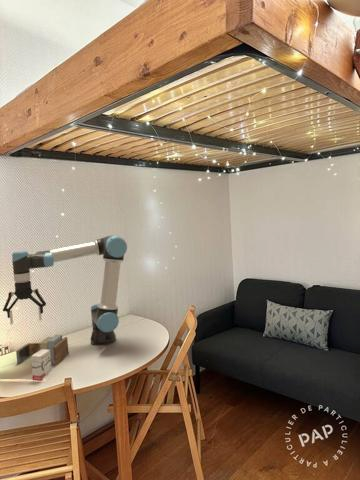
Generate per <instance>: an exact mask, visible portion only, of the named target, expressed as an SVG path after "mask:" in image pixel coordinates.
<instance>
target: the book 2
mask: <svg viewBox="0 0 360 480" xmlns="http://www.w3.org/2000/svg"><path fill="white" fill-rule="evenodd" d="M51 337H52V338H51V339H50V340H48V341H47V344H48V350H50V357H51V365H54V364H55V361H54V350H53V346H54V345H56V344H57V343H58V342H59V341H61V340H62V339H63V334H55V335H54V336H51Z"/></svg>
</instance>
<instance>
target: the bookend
mask: <svg viewBox="0 0 360 480" xmlns="http://www.w3.org/2000/svg"><path fill="white" fill-rule="evenodd" d="M15 352H16V353H15V354H16V364H17V365H21V364H22V363H24V362H26V360H28V359H30V357H31V356H30V351H29V344H28V343H27V344H25V345H23V346H22V347H20V348H19V349H17V350H16V351H15Z"/></svg>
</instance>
